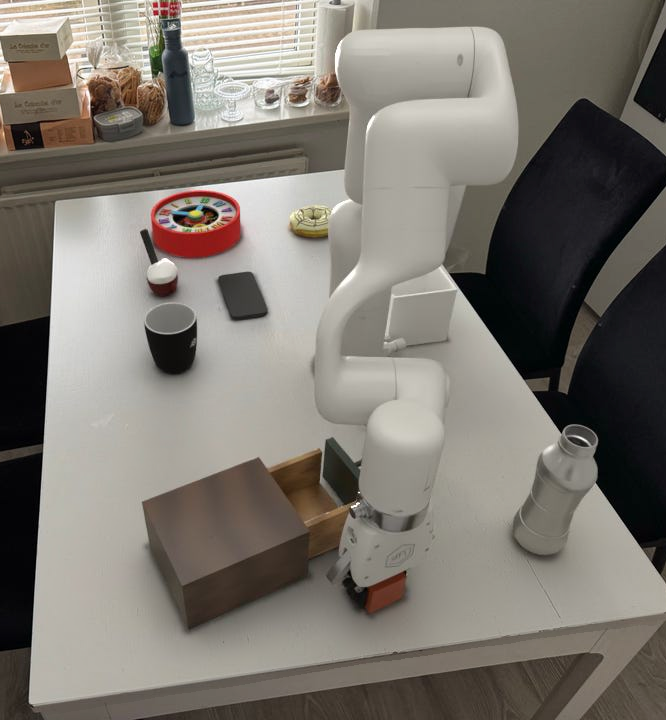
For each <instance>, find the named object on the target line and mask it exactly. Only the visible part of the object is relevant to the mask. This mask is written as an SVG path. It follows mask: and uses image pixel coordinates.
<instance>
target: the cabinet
mask: <svg viewBox="0 0 666 720" xmlns="http://www.w3.org/2000/svg"><path fill="white" fill-rule="evenodd" d="M267 468H268V467H266V464H264V462H263V461H262V459H261V458H260V457H259V456H257V457H255V458H252V459H249V460H247V461H244V462H241V463H239V464H236V465H234V466H231V467H228V468H225V469H224V470H221V471H218V472H216V473H213V474H210V475H208V476H205V477H202V478H200V479H197V480H195V481H192V482H189V483H186V484H184V485H182V486H178V487H176V488H174V489H171V490H169V491H166V492H164V493H160V494H157V495H156V496H153V497H150V498H148V499H145V500H143V501H141V506H142V512H143V517H144V522H145V528H146V534H147V538H148V544H149V548H150V550H151V552H152V555H153V557H154V559H155V561H156V563H157V566H158V567H159V570H160V572H161V575H162V576H163V578H164V581H165V583H166V585H167V587H168V589H169V591H170V593H171V596H172V598H173V600H174V603H175V605H176V606H177V609H178V611H179V613H180V615H181V618H182V620H183V622H184V624H185V627H186V628H187V630H191V629H192V628H194V627H198V626H199V625H201V624H203V623H206V622H208V621H210V620H213V619H214V618H217V617H219V616H222V615H224V614H227V613H228V612H231V611H232V610H235V609H237V608H239V607H242V606H244V605H246V604H249V603H251V602H253V601H255V600H258V599H259V598H262V597H265V596H266V595H269V594H271V593H273V592H276V591H278V590H280V589H283V588H284V587H286V586H289V585H291V584H293V583H295V582H298V581H300V580H302V579H304V578H307V577H308V568H309V559H308V555H309V541H310V530H309V529H308V527H307V526H306V524H305V523H304V522H303V520H302V519H301V517H300V516H299V514H298V513H297V511H296V510H295V509H294V507H293V506H292V504H291V503H290V501H289V500H288V498H287V497H286V495H285V494H284V493H283V491H282V490H281V488H280V487H279V485H278V484H277V482H276V481H275V480H274V478H273V477H272V475H271V474H270V472H269V471H268V469H267Z"/></svg>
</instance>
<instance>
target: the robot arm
mask: <svg viewBox="0 0 666 720" xmlns="http://www.w3.org/2000/svg"><path fill="white" fill-rule="evenodd" d="M336 48H337V49H336V51H335V58H334V66H335V75H336V80H337V84H338V86H339V89H340V91H341V93H342V94H343V96H344V98H345V100H346V102H347V105H348V109H349V122H348V131H347V139H346V141H347V142H346V149H345V151H346V152H345V158H344V168H343V169H344V170H343V187H344V190H345V193H346V195H347V197H348V199H346V200H343V201H342V202H340V203H338V204H336V205H335V207H333V208H332V209H333V210H332V212H331V214H330V216H329V221H328V235H327V238H328V244H329V245H328V247H329V258H330V259H329V263H330V265H329V266H330V269H329V270H330V271H329V272H330V273H329V289H328V300H327V302H326V304H325V305H324V307H323V310H322V312H321V315H320V318H319V321H318V324H317V329H316V336H315V350H314V351H315V353H314V375H313V376H314V378H313V381H314V382H313V395H314V397H313V398H314V403H315V407H316V410H317V412H318V414H319V415H320V417H321V418H322V419H323V420H325V421H327V422H329V423H330V424H331V423H332V424H335V425H347V426H348V425H349V426H366V428H365V434H364V442H363V449H362V457H361V459H362V463H361V466H360V477H359V484H358V491H357V498H356V503H355V504H354V505H353V506H352V507H349V514H348V517H347V519H346V522H345V525H344V528H343V532H342V536H341V541H340V546H338V547H339V548H338V560H337V561H336V562H335V563H334V565H333V566H332V567H331V568H330V569H329V570H328V572H327V573H326V574H325V577H326V579H327V580H328V581H329V583H330V584H331V585H332V586H341V585H343V587H345V588H346V590H345V591H346V594H347V596H348V598H349V599H350V601H352V602H355V603H356V604H357V606H358V608H360V609H363V608H365V605H366V600H367V595H368V589H367V587H368V586H371V585H374V584H376V583H379V582H381V581H383V580H385V579H388V578H390V577H392V576H394V575H396V574H398V573H401V572H404V574H405V575H406V576H407V574H408V572H407V571H408V570H410V569H412V568H413V567H415V566H417V565H419V564H421V563H423V561H425V560H426V559H427V558H428V556H429V554H430V551H431V547H432V543H433V540H434V539H435V535H434V530H435V528H434V527H435V514H434V507H433V502H432V500H431V499H432V498H431V497H432V493H433V489H434V486H435V481H436V478H437V475H438V474H437V473H438V470H439V465H440V463H441V459H442V455H443V450H444V446H445V442H446V441H445V440H446V429H445V419H446V410H447V408H448V405H449V401H450V396H451V381H450V376H449V374H447V372H446V369H445V367H444V366H443V365H442V363H440V362H439V361H437V360H436V359H435V360H434V359H431V358H425V357H391V355H392V353H395V352H398V351H402V350H404V349H406V348H407V346H406V342H405V340H404V339H403V338H399V339H397V340H394V341H392V342H390V343H387V342H388V341H390V335H389V334H386V327H387V320H388V314H389V305H390V298H391V291H392V286H394V285H397V284H400V283H403V282H405V281H408V280H411V279H414V278H417V277H420V276H423V275H425V274H428V273H430V272H432V271H434V270H436V269H437V268H439V267H442V265H443V264H444V262H445V259H446V254H447V251H448V250H449V247H450V245H451V241H452V238H453V234H454V230H455V227H456V223H457V221H458V216H459V213H460V211H461V206H462V203H463V199H464V196H465V192H466V188H467V186H493V185H496V184H497V185H498V184H500V183H502V182H503V181H504V180H505V179H506V178H507V177H508V176H509V175H510V173H511V171H512V169H513V167H514V164H515V161H516V158H517V153H518V147H519V134H520V133H519V132H520V131H519V130H520V129H519V128H520V127H519V125H520V124H519V113H518V103H517V98H516V92H515V87H514V83H513V78H512V74H511V69H510V65H509V60H508V55H507V50H506V47H505V42H504V41H503V38H502V37H501V35H500V34H499V33H498V32H497V31H495V30H494V29H492V28H490V27H485V26H451V27H448V26H447V27H403V28H379V29H377V28H376V29H358V30H353V31H351V32H349V33H347V34H346V35H345V36H344V37H343V38H342V39H341V41H339V44H338V46H337V47H336Z"/></svg>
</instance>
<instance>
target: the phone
mask: <svg viewBox="0 0 666 720" xmlns="http://www.w3.org/2000/svg"><path fill="white" fill-rule="evenodd" d="M217 278H218V279H217V280H218V285H219V287H220V290H221V293H222V296H223V299H224V302H225V305H226V308H227V310H228V314H229V317H230V318H231V319H232V320H243V319H249V318H256V317H263V316H266V315H267V314H269V308H268V307H267V306H268V305H267V303H266V300H265V299H264V296H263V294H262V291H261V288H260V286H259V284H258V282H257V280H256V278H255V275H254V273H253V272H252V271H247V270H246V271H239V272H233V273H226V274H221V275H219V276H218V277H217Z"/></svg>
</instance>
